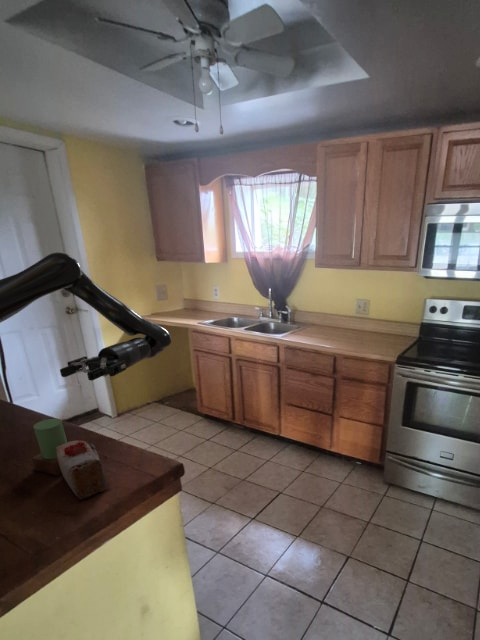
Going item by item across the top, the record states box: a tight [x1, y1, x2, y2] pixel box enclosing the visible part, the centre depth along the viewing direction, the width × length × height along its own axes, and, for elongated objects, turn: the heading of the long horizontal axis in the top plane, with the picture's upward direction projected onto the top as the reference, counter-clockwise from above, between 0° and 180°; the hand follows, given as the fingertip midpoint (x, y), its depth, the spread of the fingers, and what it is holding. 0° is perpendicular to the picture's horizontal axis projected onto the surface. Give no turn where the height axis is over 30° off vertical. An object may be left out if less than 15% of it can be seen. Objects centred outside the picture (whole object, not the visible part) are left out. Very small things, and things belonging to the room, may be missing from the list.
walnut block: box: [31, 452, 62, 476], centre depth 91 cm, size 7×7×4 cm
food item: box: [56, 440, 108, 500], centre depth 84 cm, size 14×8×10 cm, turn 44°
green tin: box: [33, 418, 68, 459], centre depth 89 cm, size 6×6×8 cm
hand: (75, 375), depth 93 cm, fingers open, 8 cm apart
